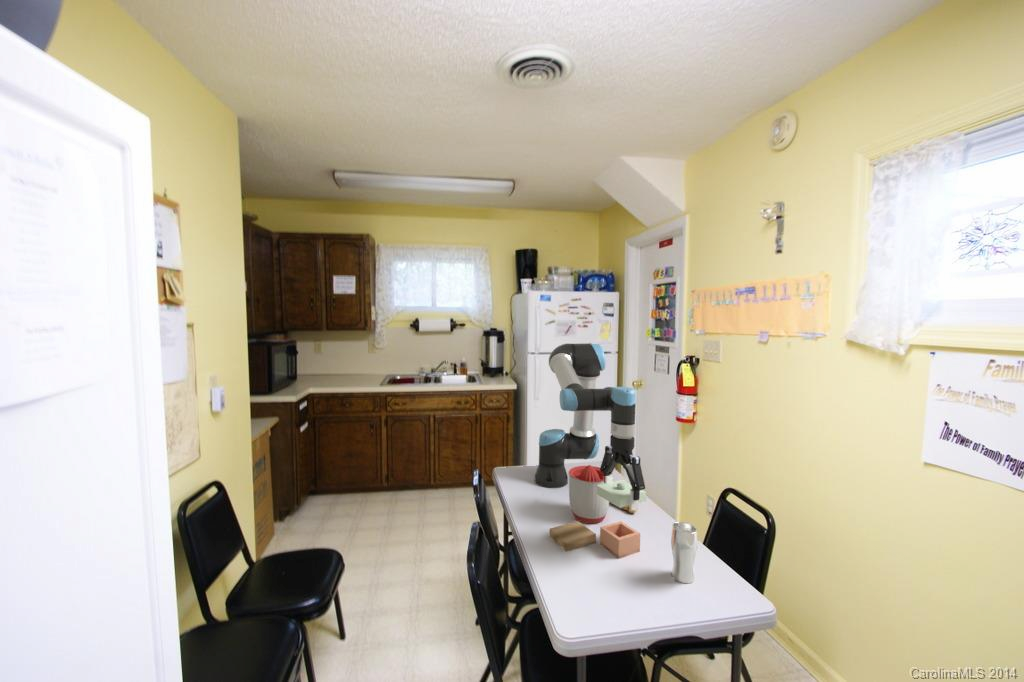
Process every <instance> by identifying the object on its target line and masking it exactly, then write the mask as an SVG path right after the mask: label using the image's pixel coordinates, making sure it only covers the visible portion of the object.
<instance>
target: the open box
mask: <svg viewBox="0 0 1024 682" xmlns="http://www.w3.org/2000/svg"><path fill="white" fill-rule="evenodd" d="M599 545H600V546H601V547H602V548H604V549H605V550H606V551H607V552H609V553H611V555H613V556H614V557H616V558H617V559H618V560H619V559H622V558H625V557H627V556H630V555H633V554H636V553H639V552H641V533H640V532H639V531H638V530H636V529H634V528H633V527H631V526H630V525H628V524H627V523H624V522H623V521H621V520H620V521H616V522H614V523H609V524H606V525H603V526H600V529H599Z"/></svg>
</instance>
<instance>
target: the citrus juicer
mask: <svg viewBox="0 0 1024 682" xmlns="http://www.w3.org/2000/svg"><path fill="white" fill-rule="evenodd" d="M568 474H569V475H568V483H569V484H568V495H569V496H568V497H569V505H570V508H571V513H572V516H573V517H574V518H575V519H576V521H578V520H579V522H581V523H587V524H600V523H601V522H602V521H604V519H605V518H606V515H607V512H608V510H609V509H608V508H609V504H610V502H609V501H607V500H606V499H604V498H602V497H600V496H599V495H597V485H600V484H605V483H604V474H603V472H601V471H600V467H599V466H593V465H591V464H588V465H578V466H574V467H572V468H570V469H569V471H568Z"/></svg>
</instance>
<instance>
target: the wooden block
mask: <svg viewBox="0 0 1024 682" xmlns="http://www.w3.org/2000/svg"><path fill="white" fill-rule="evenodd" d="M548 535H549V539H550V540H552V541H553V542H554V543H556V545H558V546H559V547H560V548H561V549H563V551H565V552H571V551H574V550H577V549H580V548H584V547H587V546H590V545H593V544H596V542H597V533H595V532H594V531H593V530H591V529H590V528H588V527H587V526H586V525H584V524H583V523H582V522H581V521H578V520H575V521H572V522H569V523H566V524H561V525H558V526H554V527H550V528H549V534H548Z"/></svg>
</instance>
